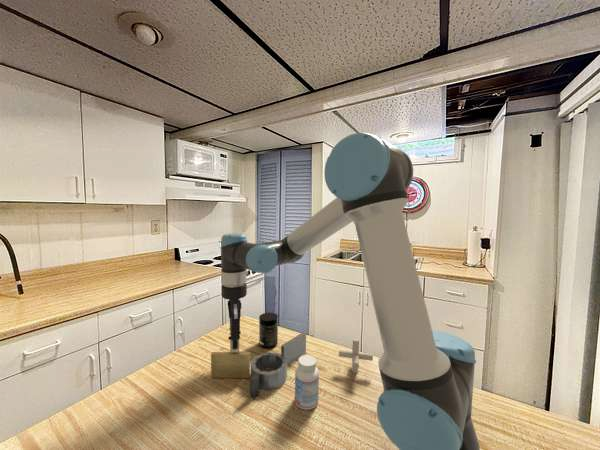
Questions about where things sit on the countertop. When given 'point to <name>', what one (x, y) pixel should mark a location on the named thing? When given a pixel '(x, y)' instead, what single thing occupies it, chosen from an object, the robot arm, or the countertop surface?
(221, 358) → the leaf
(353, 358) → the pipe connector
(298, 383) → the pill bottle
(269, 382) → the hinge base
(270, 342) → the supplement container
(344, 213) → the robot arm
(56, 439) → the countertop surface
